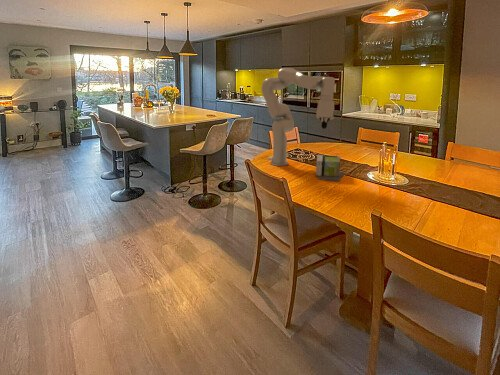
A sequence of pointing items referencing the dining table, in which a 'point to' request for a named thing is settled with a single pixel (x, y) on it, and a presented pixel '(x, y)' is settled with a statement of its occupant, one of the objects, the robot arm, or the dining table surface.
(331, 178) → the display board
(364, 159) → the dining table surface
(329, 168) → the tea box
